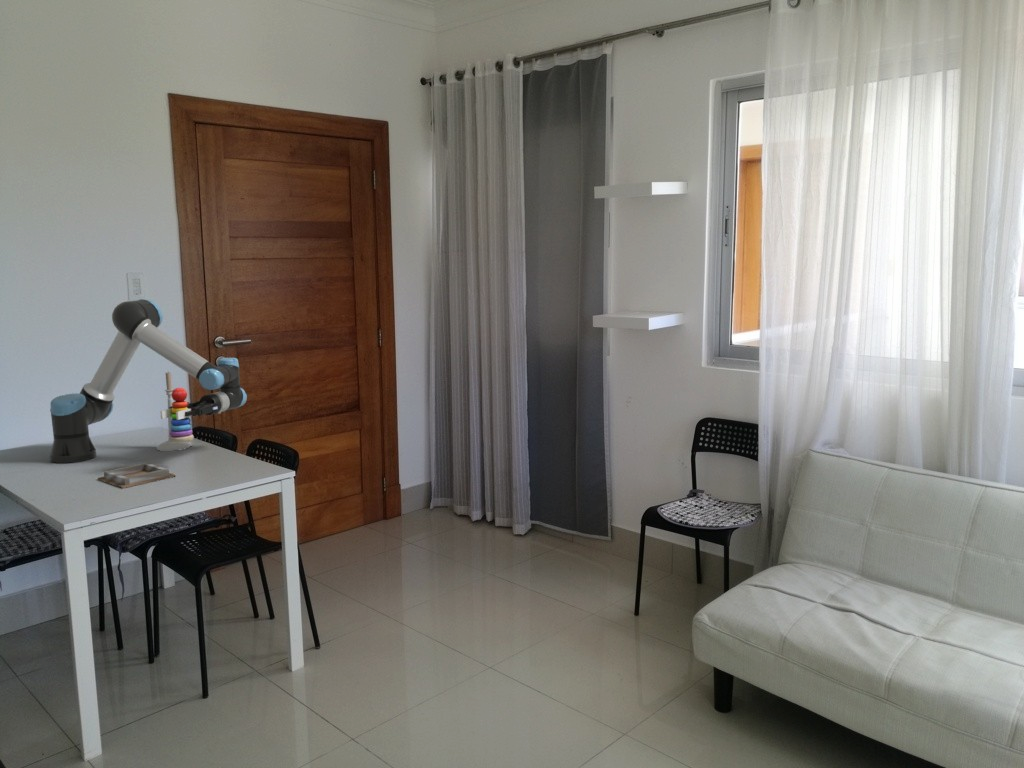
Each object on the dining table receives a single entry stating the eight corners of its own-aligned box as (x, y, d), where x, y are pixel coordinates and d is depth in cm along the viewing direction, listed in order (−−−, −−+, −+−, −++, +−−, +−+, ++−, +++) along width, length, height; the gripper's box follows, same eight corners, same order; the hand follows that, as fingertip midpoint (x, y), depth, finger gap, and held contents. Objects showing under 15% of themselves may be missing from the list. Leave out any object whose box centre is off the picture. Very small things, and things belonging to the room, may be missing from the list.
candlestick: (149, 450, 321) (142, 373, 316) (169, 443, 333) (163, 368, 329) (179, 451, 318) (172, 374, 314) (198, 444, 331) (192, 369, 326)
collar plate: (97, 479, 280) (97, 472, 280) (149, 468, 294) (149, 461, 294) (122, 488, 269) (122, 480, 268) (175, 476, 282) (175, 469, 282)
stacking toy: (185, 443, 288) (181, 389, 285) (164, 442, 290) (160, 389, 287) (198, 438, 296) (194, 386, 293) (178, 437, 297) (173, 386, 294)
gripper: (235, 414, 305) (192, 427, 284) (193, 412, 312) (148, 424, 290) (234, 394, 304) (191, 405, 283) (192, 392, 310) (146, 403, 289)
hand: (169, 415), depth 286 cm, fingers closed on stacking toy, 6 cm apart
